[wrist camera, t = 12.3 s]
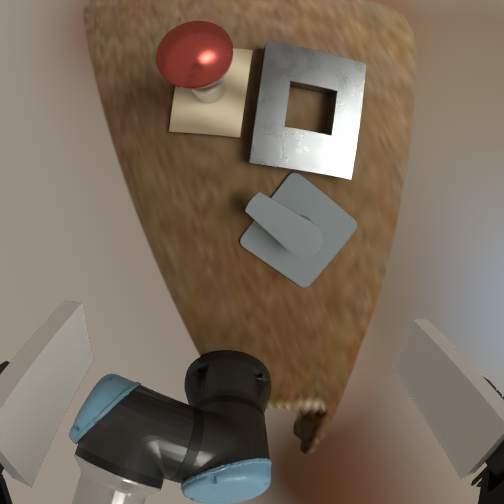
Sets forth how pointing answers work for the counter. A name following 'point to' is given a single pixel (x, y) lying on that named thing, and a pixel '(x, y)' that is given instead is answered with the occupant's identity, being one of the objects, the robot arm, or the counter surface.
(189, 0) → the counter surface
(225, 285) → the counter surface
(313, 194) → the shower valve
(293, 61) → the eye plate
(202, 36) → the red mushroom button
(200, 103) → the birch pad
